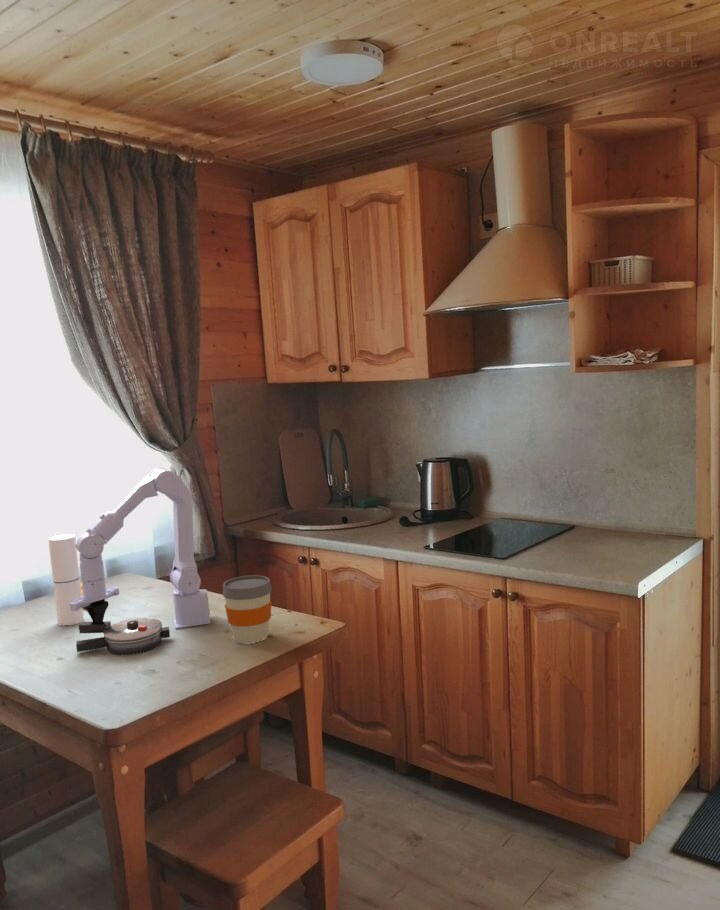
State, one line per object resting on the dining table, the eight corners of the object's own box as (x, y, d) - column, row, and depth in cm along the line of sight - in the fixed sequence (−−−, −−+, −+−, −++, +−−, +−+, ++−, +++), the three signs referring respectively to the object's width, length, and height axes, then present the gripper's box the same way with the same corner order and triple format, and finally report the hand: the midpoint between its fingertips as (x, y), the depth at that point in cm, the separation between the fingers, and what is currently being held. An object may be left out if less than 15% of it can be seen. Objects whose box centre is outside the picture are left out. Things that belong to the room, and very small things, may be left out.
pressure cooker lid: (170, 620, 204) (169, 612, 203) (150, 641, 189) (149, 631, 189) (94, 622, 206) (93, 614, 205) (68, 642, 191) (67, 633, 191)
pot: (168, 630, 207) (166, 618, 207) (172, 648, 193) (170, 635, 193) (78, 644, 200) (77, 632, 200) (76, 664, 187) (74, 650, 186)
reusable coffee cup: (250, 626, 206) (245, 573, 205) (285, 633, 199) (280, 578, 197) (216, 641, 196) (211, 585, 195) (251, 650, 189) (247, 591, 187)
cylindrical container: (68, 627, 215) (58, 540, 212) (52, 623, 219) (43, 539, 216) (89, 619, 221) (80, 535, 218) (73, 616, 225) (64, 533, 222)
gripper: (104, 570, 207) (109, 618, 209) (59, 585, 195) (65, 636, 196) (122, 572, 204) (127, 621, 205) (78, 588, 191) (84, 639, 193)
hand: (98, 628), depth 201 cm, fingers closed
